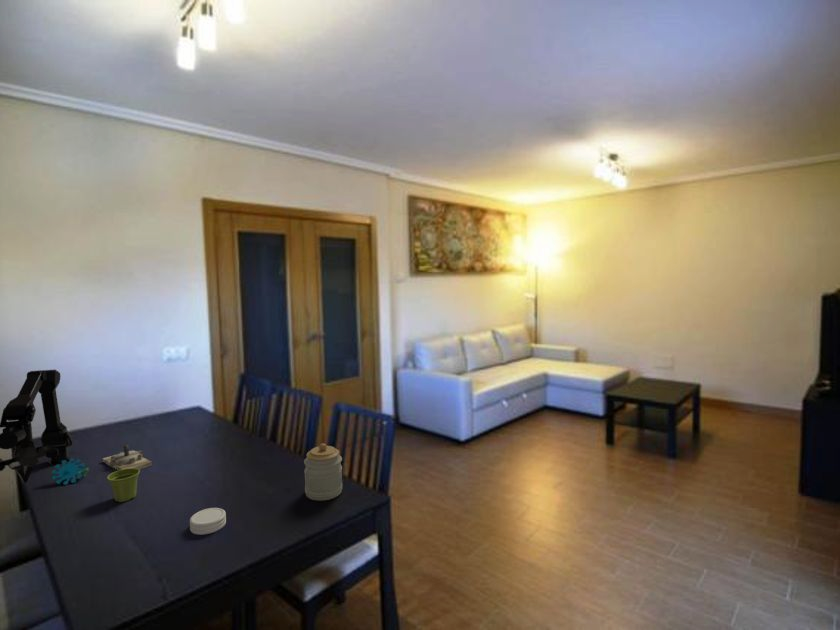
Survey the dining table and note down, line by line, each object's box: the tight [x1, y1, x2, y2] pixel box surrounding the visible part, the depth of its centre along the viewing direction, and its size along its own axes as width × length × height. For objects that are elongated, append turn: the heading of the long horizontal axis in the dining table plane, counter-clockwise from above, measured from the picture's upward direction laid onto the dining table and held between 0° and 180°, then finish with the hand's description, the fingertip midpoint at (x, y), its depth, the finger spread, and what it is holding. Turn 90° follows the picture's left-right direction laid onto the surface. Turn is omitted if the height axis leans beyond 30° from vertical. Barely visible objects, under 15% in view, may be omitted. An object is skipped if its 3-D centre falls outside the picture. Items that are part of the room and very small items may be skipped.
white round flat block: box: [189, 507, 227, 536], centre depth 138 cm, size 10×10×4 cm
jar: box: [303, 443, 343, 502], centre depth 159 cm, size 13×13×18 cm
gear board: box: [102, 444, 153, 471], centre depth 184 cm, size 20×11×8 cm, turn 55°
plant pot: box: [106, 468, 141, 503], centre depth 155 cm, size 9×9×9 cm
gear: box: [51, 457, 90, 486], centre depth 170 cm, size 11×6×10 cm
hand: (25, 482), depth 158 cm, fingers closed
